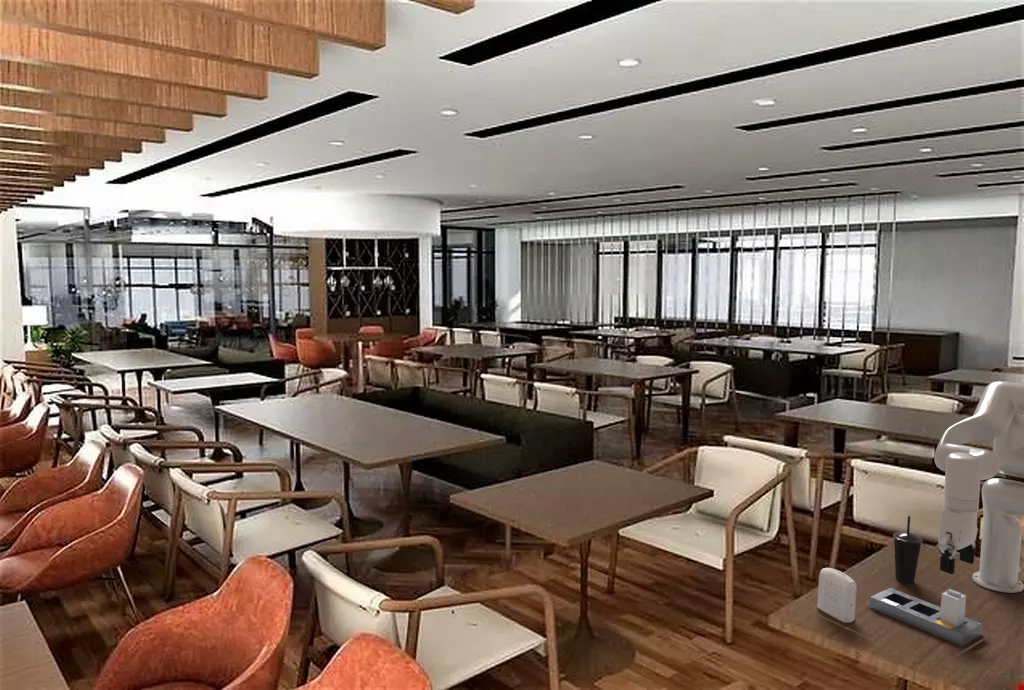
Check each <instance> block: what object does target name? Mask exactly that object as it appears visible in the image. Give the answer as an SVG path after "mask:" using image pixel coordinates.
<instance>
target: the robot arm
mask: <svg viewBox="0 0 1024 690" xmlns="http://www.w3.org/2000/svg"><path fill="white" fill-rule="evenodd" d="M972 414H973V415H972V416H970V417H966V418H965V419H962V420H961V421H959V422H956V423H955V424H953V425H951V426H950V427H949V428H947V429H946V430H945V432H943V434H942V436H941V438H940V440H939V443H937V447H936V450H935V453H934V458H933V459H934V463H935V465H936V468H938V469H939V470H941V471H943V472H945V473H944V474H945V476H944V488H943V489H944V490H943V509H942V514H941V518H940V524H939V530H938V531H939V532H938V549H939V550H938V552H939V557H940V558H939V559H940V560H939V561H940V562H939V563H940V564H939V570H940V571H942V572H944V573H948V574H949V575H954V574H955V565H956V558H954V557H955V554H956V552H957V551H959V560H960V561H962V562H965V563H968V564H970V565H973V564H974V562H975V552H976V551H975V548H976V546H977V545H976V542H977V539H978V536H977V535H978V532H979V528H978V512H979V508H980V505H979V504H980V492H981V498H982V499H981V500H982V512H983V519H982V520H983V521H982V532H981V534H982V535H981V543H980V544H981V545H980V558H979V569H978V571H975V572H974V573H972V580H973V582H975V584H977V585H979V586H981V587H983V588H986V589H988V590H991V591H995V592H1000V593H1007V594H1009V593H1010V594H1014V593H1015V594H1016V593H1020V592H1023V590H1024V583H1023V582H1022V581H1021V580H1020V579H1018V578H1019V573H1020V572H1021V571H1022V568H1021V566H1020V556H1021V546H1022V535H1023V534H1022V533H1023V531H1022V530H1023V529H1022V526H1021V524H1020V522H1019V520H1018V519H1017V517H1016V516H1019V517H1024V482H1021V481H1016V480H1013V479H1007V478H1000V477H999V478H998V477H995V476H997V474H1003V475H1006V476H1007V475H1008V476H1012V477H1017V478H1022V479H1024V383H1023V382H1022V383H1020V382H1013V381H1012V382H1011V381H994V382H991V383H989V384H988V385H986V386H985V388H984V390H983V393H982V395H981V397H980V399H979V401H978V403H977V406H976V408H975V410H974V412H973V413H972ZM992 439H993V446H992V450H990V449H986V448H981V447H980V448H979V447H974V446H968V445H963V444H966V443H970V442H975V441H976V442H978V441H984V440H992ZM981 481H985V482H984V483H983V484H982V486H981ZM980 489H981V491H980ZM948 549H949V550H948ZM950 550H951V551H950Z"/></svg>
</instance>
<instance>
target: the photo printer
mask: <svg viewBox="0 0 1024 690" xmlns="http://www.w3.org/2000/svg"><path fill="white" fill-rule="evenodd" d="M818 575H819V576H818V590H817V591H818V593H817V602H816V604H817V608H818V609H819V610H820V611H822V612H824V613H826V615H827V614H828V615H829V616H831V617H833V618H835V619H836V620H839V621H840V622H842V623H853V621H854V620H855V617H856V616H855V615H856V601H857V600H856V599H857V588H858V587H857V586H858V585H857V583H856V582H855V580H854V579H852V578H851V577H850V576H849V575H847V574H846V573H844V572H842V571H840V570H838V569H835V568H831V567H825V568H822V569H821V570H820V572H819V574H818Z"/></svg>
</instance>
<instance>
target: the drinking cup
mask: <svg viewBox="0 0 1024 690" xmlns="http://www.w3.org/2000/svg"><path fill="white" fill-rule="evenodd" d="M906 523H907V524H906V531H899V532H895V533H893V534H892V537H893V541H894V544H893V545H894V568H895V569H894V570H895V571H894V572H895V573H894V574H895V580H896V581H897V582H900V583H903V584H908V585H910V584H915V579H916V573H917V567H918V562H919V556H920V552H921V546H922V543H923V538H922V537H921V536H919V535H918V534H916V533H912V532H911V531H910V528H911V516H910V515H908V516H907V522H906Z"/></svg>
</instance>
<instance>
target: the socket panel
mask: <svg viewBox="0 0 1024 690" xmlns="http://www.w3.org/2000/svg"><path fill="white" fill-rule="evenodd" d="M869 608H870V609H872V610H875V611H878V612H879V613H882V614H885V615H887V616H889V617H891V618H894V619H896V620H897V621H901V622H904V623H906V624H908V625H911V626H912V627H915V628H918V629H920V630H923V631H925V632H927V633H929V634H932V635H934V636H937V637H939V638H941V639H944V640H946V641H948V642H951V643H953V644H956V645H957V646H960V647H964V645H967V644H968V643H971V642H972V641H973V640H975V639H977V638H979V637H980V636H982V635H983V623H982V622H980V621H977V620H974V619H971V618H969V617H967V616H965V618H964V625H963V626H961V627H959V628H956V627H955V626H952V625H950V624H947V623H945V622H942V621H940V611H941V606H938V605H935V604H933V603H932V602H928V601H925V600H924V599H920V598H919V597H915V596H912V595H910V594H907V593H904V592H903V591H900V590H897V589H894V588H892V587H889V588H887V589H885V590H882V591H880V592H878V593H876V594H874V595H871V596H870V597H869Z"/></svg>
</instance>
